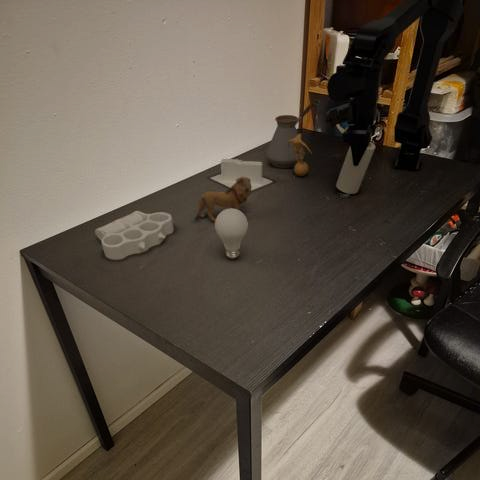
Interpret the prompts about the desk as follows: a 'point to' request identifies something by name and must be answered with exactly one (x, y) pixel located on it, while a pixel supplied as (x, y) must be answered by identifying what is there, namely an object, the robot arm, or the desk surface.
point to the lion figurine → (225, 197)
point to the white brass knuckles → (134, 233)
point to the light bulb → (231, 230)
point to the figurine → (301, 166)
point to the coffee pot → (285, 140)
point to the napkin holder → (241, 173)
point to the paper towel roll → (354, 171)
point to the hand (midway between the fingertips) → (357, 161)
